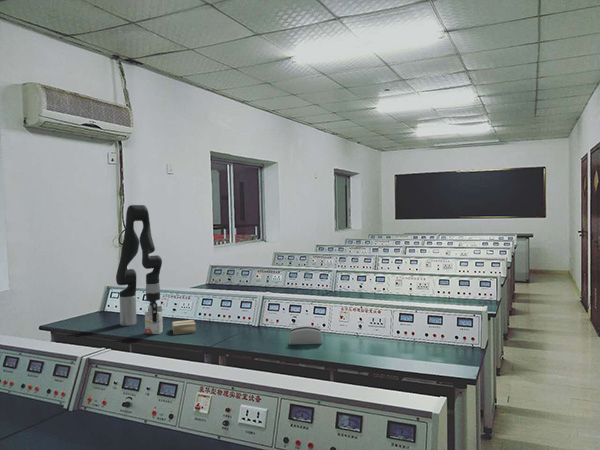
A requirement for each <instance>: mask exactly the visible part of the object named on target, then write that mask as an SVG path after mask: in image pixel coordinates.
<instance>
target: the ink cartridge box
mask: <svg viewBox="0 0 600 450" xmlns="http://www.w3.org/2000/svg"><path fill="white" fill-rule="evenodd" d="M147 309H148V310H147V311H146V312H144V329H145V330H144V334H145V335H148V334H149V335H155V334H156V335H160V334H161V333H163V331H164V330H163V329H164V328H163V326H164V325H163V307H162V306H161V305H157V322H153V321H152V312H151V310H150V306H149V305H148V306H147ZM153 313H154V312H153Z"/></svg>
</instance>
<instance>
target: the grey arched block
mask: <svg viewBox="0 0 600 450" xmlns="http://www.w3.org/2000/svg"><path fill="white" fill-rule="evenodd" d="M315 344H316V345H319V344H320V345H321V344H323V337H322V331H321V329H320V327H316V326H311V325H310V326H309V325H303V326H302V325H301V326H295V327H292V328H291V329H290V330H289V339H288V345H315Z"/></svg>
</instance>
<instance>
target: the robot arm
mask: <svg viewBox="0 0 600 450" xmlns="http://www.w3.org/2000/svg"><path fill="white" fill-rule="evenodd" d="M135 222H142V230H141V233H140V235H139V236H138V234H137V233H136V231H135V228H134V227H135V226H134V225H135ZM124 228H125V229H124V234H123V239H122V245H121V253H120V257H119V263H118V267H117V271H116V276H115V282H116V284H117V285H118V286H126V287H125V288H124V289H122V290H121V291H119V319H120V320H119V323H120V326H123V327H125V326H127V327H128V326H134V325H136V324H137V295H136V292H137V272H136V270H135V269H133V268H129V269H127V268H128V266H129V264H130V263H131V261H132V260H134V258H135V257H136V256H137V255H138V251H139V247H141V256H142V257H141V264H142V265H141V266H143V268H144V269H147V270H149V269H150V270H151V269H152V271H150V272H148V273H146V275H145V300H146V301H147V302H149V305H148V306H150V310H151V312H152V321H153V322H157V306H158V303H157V301H160V299H161V286H160V274H161V268H162V265H163V260H162V257H161V256H160V255H158V254H157V255H150V254H153V253H154V252H155V251H156V247H155V243H154V241H153V235H152V231H151V221H150V214H149V209H148V207H147V206H146V205H144V204H131V205H128V207H127V210H126V215H125V226H124ZM153 312H154V313H153Z"/></svg>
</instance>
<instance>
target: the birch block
mask: <svg viewBox="0 0 600 450" xmlns="http://www.w3.org/2000/svg"><path fill="white" fill-rule="evenodd" d="M171 327H172V328H171V330H172V333H173V335H182V334H194V333H197V324H196V322H195V319H188V320H187V319H186V320H177V321H176V320H175V321H172V322H171Z"/></svg>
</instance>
